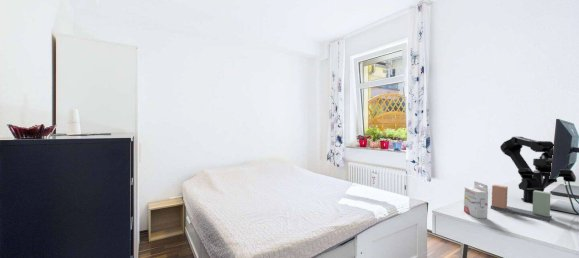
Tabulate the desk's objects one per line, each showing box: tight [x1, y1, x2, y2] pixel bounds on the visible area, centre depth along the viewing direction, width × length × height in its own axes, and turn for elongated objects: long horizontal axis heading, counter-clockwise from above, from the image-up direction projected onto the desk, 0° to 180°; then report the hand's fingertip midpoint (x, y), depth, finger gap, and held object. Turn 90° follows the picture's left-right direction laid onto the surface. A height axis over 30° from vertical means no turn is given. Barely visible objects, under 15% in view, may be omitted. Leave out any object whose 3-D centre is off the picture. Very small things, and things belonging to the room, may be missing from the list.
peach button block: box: [491, 184, 509, 209], centre depth 119 cm, size 4×5×10 cm
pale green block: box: [531, 190, 552, 217], centre depth 110 cm, size 4×5×10 cm
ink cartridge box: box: [463, 180, 489, 219], centre depth 111 cm, size 9×5×15 cm, turn 179°
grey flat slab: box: [490, 204, 553, 222], centre depth 115 cm, size 6×20×1 cm, turn 36°
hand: (541, 188), depth 115 cm, fingers closed
